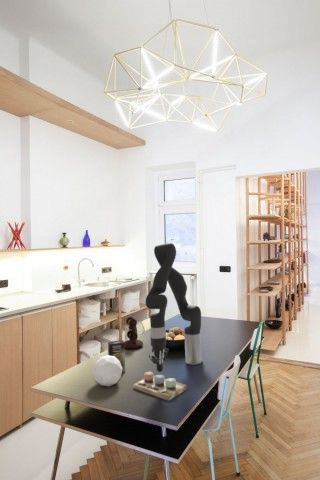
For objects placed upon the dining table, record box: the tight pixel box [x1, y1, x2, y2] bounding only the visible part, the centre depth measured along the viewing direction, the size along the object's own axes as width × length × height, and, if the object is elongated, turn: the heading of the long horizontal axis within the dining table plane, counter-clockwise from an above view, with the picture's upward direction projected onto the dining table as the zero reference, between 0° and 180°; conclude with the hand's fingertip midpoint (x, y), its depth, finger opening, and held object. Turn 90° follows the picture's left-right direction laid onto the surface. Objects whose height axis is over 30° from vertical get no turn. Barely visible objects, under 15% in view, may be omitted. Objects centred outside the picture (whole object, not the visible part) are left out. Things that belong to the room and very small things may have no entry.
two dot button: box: [143, 371, 155, 381], centre depth 165 cm, size 5×5×2 cm
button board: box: [132, 378, 188, 401], centre depth 161 cm, size 14×22×3 cm, turn 50°
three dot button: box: [154, 374, 166, 384], centre depth 161 cm, size 5×5×2 cm
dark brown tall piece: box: [123, 316, 144, 351], centre depth 229 cm, size 15×15×20 cm
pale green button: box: [165, 377, 177, 388], centre depth 156 cm, size 5×5×2 cm
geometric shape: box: [92, 354, 123, 387], centre depth 169 cm, size 14×15×15 cm
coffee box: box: [107, 339, 126, 373], centre depth 187 cm, size 9×6×16 cm
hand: (159, 371), depth 161 cm, fingers closed
